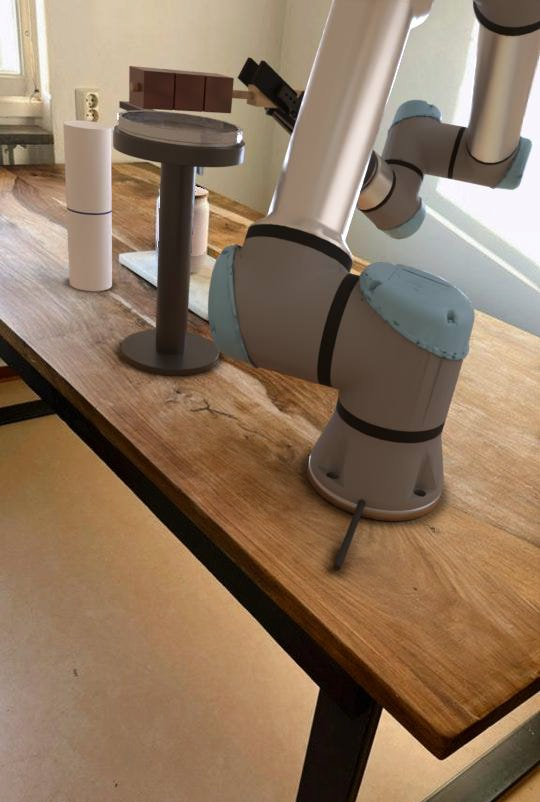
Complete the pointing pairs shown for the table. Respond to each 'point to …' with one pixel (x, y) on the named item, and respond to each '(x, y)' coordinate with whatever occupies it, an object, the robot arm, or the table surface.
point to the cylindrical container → (88, 204)
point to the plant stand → (174, 227)
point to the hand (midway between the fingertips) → (251, 69)
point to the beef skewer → (189, 91)
